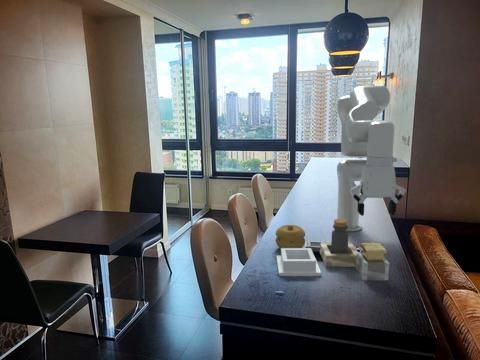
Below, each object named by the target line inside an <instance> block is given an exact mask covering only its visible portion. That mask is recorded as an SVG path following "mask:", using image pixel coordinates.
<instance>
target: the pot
mask: <svg viewBox="0 0 480 360" xmlns="http://www.w3.org/2000/svg"><path fill="white" fill-rule="evenodd" d="M275 236H276V238H275V243H276V245H277V246H278V248H279V249H280V250H281V248H304V245H305V244H306V238H305V237H306V231H305V230H304V229H303V228H302V227H301V226H298V225H295V224H294V225H293V224H286V225H281V226H279V228H277V229H276V231H275Z"/></svg>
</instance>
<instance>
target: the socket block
mask: <svg viewBox="0 0 480 360" xmlns="http://www.w3.org/2000/svg"><path fill="white" fill-rule="evenodd" d="M353 245H354V244H353V243H352V242H350V243H348V254H331V242H320V243H319V254H320V256H321V259H322V261H323V264H324V265H325V267H326V268H327V267H329V268H330V267H331V268H333V267H334V268H335V267H336V268H340V267H341V268H342V267H346V268H347V267H349V268H350V267H354V268H355V270H356V271H357V273H358V274H359V276H360V277H361V279H362V281H389V275H390V274H389V273H390V262H389V261H388V260H387V259H386V257H385V256H384V255H383V262H367V261H366V260H365V259H364V257H363V253H358V251H357V250H356V248H355V247H356V246H355V247H354V246H353Z"/></svg>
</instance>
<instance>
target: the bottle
mask: <svg viewBox="0 0 480 360" xmlns="http://www.w3.org/2000/svg"><path fill="white" fill-rule="evenodd" d="M332 227H333V230H332V231H331V242H330V243H331V254H348V240H349V231H346V230H347V229H348V226H347V220H344V219H337V218H335V219H334V220H333V225H332Z"/></svg>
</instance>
